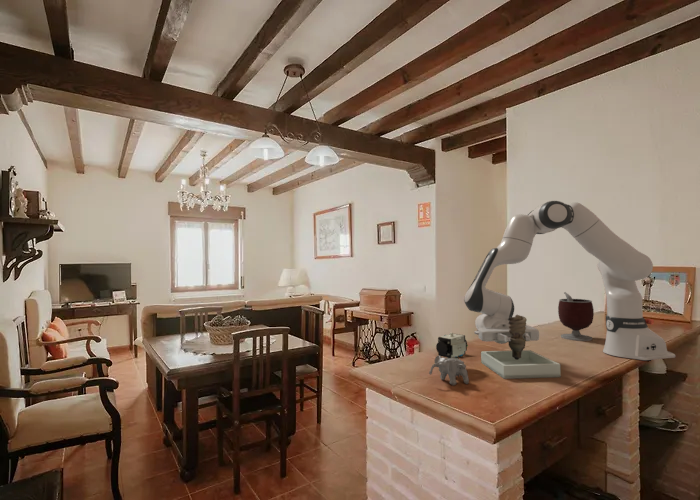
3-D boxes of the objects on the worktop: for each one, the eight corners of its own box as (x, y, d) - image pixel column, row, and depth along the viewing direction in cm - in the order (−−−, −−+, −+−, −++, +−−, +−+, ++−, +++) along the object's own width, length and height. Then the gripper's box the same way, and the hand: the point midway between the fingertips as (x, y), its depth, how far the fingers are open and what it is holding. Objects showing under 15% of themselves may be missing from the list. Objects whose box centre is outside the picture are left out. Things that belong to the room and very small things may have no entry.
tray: (530, 361, 137) (530, 350, 137) (560, 377, 119) (560, 364, 119) (481, 362, 136) (481, 351, 136) (503, 378, 118) (503, 365, 118)
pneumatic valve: (436, 370, 128) (435, 334, 128) (456, 363, 135) (455, 329, 136) (449, 374, 124) (449, 336, 124) (470, 366, 131) (469, 331, 131)
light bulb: (526, 358, 129) (525, 314, 130) (527, 362, 124) (527, 316, 124) (508, 357, 131) (507, 313, 131) (509, 361, 126) (508, 315, 126)
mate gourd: (601, 341, 167) (600, 295, 167) (569, 341, 167) (568, 295, 168) (580, 333, 183) (579, 291, 183) (551, 334, 183) (550, 292, 183)
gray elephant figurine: (473, 383, 115) (473, 357, 116) (449, 390, 108) (449, 363, 108) (448, 377, 122) (448, 352, 123) (423, 383, 115) (424, 357, 115)
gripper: (472, 322, 140) (487, 330, 127) (526, 321, 141) (547, 328, 127) (472, 340, 140) (487, 349, 126) (526, 338, 141) (548, 347, 127)
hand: (518, 339), depth 127 cm, fingers closed on light bulb, 5 cm apart
